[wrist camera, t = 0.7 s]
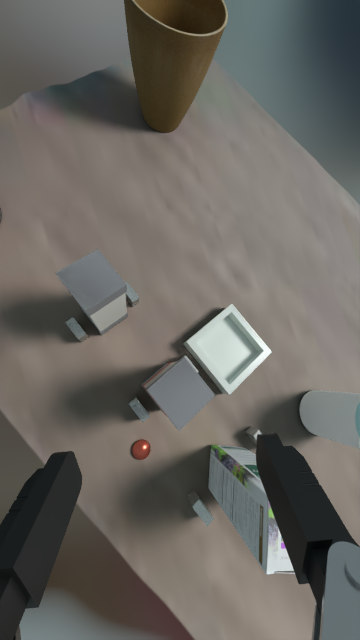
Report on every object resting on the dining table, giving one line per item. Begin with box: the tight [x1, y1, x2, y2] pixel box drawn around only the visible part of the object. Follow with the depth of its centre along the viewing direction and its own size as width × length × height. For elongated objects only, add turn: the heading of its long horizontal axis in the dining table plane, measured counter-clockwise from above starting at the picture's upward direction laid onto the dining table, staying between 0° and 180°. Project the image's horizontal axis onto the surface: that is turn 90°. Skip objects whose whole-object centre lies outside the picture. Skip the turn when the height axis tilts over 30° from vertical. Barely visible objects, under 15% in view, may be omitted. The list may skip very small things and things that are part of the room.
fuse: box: [56, 249, 128, 335], centre depth 28 cm, size 5×5×13 cm
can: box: [300, 390, 360, 449], centre depth 32 cm, size 7×7×12 cm
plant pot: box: [124, 0, 228, 132], centre depth 38 cm, size 15×15×16 cm
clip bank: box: [65, 282, 262, 526], centre depth 32 cm, size 32×15×2 cm, turn 40°
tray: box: [183, 304, 272, 395], centre depth 36 cm, size 10×10×2 cm
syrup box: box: [208, 445, 295, 575], centre depth 26 cm, size 6×6×14 cm
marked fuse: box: [141, 357, 215, 431], centre depth 27 cm, size 5×5×13 cm
